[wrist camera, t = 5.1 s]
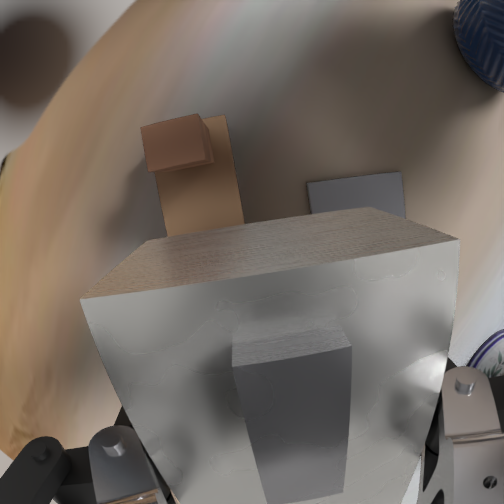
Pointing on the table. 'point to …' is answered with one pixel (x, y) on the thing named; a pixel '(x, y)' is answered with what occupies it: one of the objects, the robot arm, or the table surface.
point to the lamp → (482, 38)
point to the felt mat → (358, 193)
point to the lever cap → (282, 355)
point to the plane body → (194, 173)
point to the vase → (490, 356)
